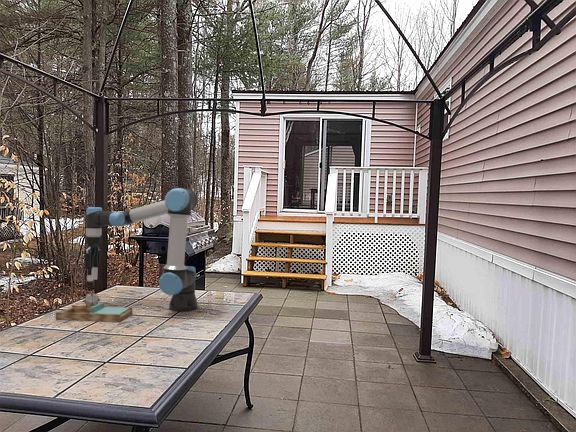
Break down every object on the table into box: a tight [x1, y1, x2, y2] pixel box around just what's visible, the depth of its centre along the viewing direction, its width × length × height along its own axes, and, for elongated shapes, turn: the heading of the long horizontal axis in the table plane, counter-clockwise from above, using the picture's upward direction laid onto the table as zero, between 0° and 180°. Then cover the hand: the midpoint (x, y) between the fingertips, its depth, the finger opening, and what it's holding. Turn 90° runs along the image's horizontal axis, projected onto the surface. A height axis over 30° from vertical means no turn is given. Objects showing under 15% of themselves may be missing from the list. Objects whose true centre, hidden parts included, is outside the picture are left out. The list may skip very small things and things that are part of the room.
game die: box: [82, 291, 101, 306], centre depth 220 cm, size 9×8×10 cm
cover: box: [90, 301, 131, 315], centre depth 203 cm, size 14×13×3 cm
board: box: [55, 304, 133, 323], centre depth 203 cm, size 30×15×3 cm, turn 89°
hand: (92, 280), depth 220 cm, fingers open, 4 cm apart
